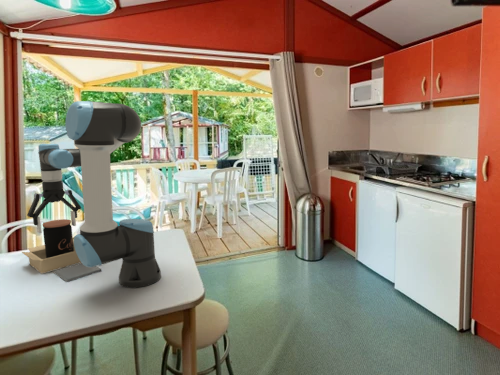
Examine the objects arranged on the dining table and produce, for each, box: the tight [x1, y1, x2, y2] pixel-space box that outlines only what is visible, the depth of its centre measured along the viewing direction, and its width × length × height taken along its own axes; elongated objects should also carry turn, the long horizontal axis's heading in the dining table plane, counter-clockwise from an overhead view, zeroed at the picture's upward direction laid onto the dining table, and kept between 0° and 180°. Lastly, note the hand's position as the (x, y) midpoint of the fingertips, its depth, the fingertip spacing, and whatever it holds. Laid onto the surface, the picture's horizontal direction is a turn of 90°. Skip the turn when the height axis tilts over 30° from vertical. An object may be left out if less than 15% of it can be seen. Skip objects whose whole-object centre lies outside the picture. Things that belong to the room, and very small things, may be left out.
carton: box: [21, 239, 82, 274], centre depth 141 cm, size 20×24×6 cm
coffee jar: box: [42, 218, 74, 258], centre depth 140 cm, size 11×11×18 cm
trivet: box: [53, 262, 102, 283], centre depth 129 cm, size 13×13×1 cm
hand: (57, 228), depth 139 cm, fingers open, 13 cm apart
